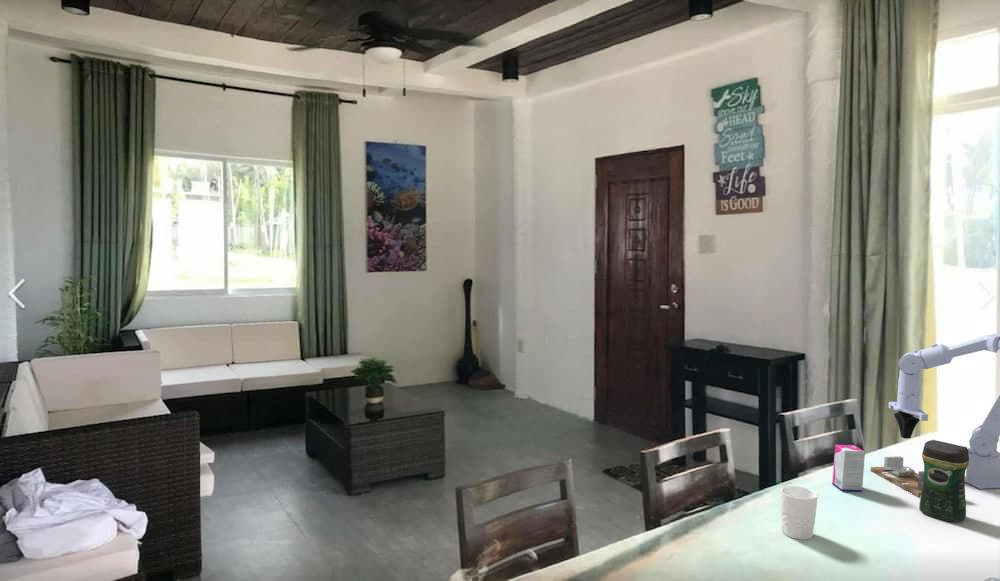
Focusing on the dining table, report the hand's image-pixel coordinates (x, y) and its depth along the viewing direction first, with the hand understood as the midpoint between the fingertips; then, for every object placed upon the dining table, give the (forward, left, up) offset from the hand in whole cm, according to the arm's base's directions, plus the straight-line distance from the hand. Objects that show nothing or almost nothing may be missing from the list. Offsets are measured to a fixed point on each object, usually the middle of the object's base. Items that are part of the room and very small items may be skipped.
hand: (905, 437), depth 202 cm
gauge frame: (+6, +11, -9) cm, 16 cm away
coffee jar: (+13, +32, -10) cm, 36 cm away
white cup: (+55, +39, -10) cm, 69 cm away
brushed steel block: (+8, +8, -8) cm, 13 cm away
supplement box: (+26, +13, -10) cm, 31 cm away
